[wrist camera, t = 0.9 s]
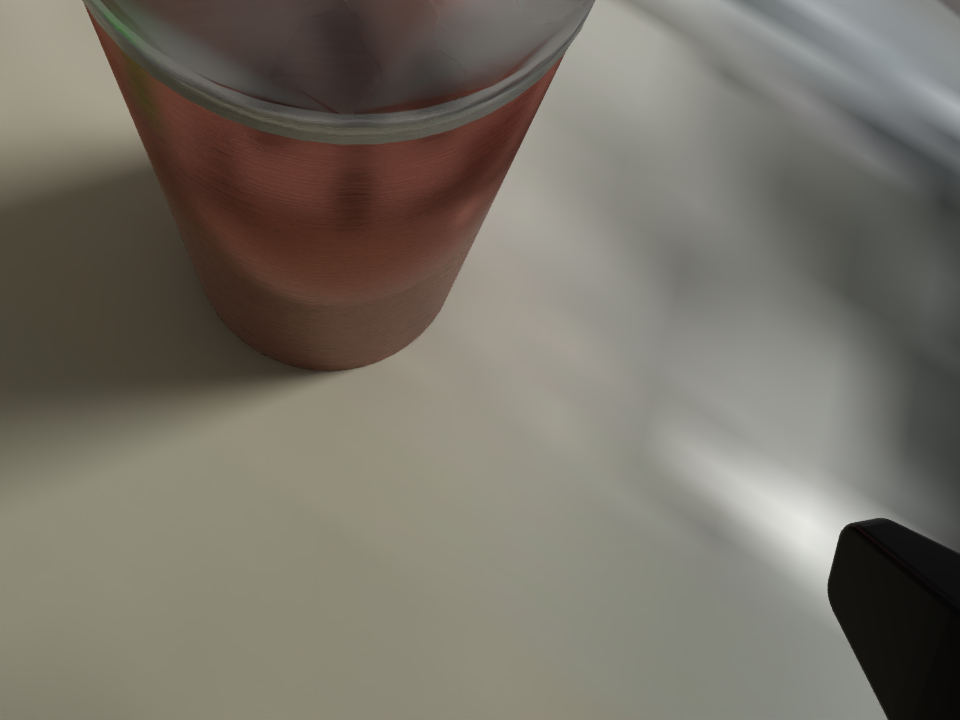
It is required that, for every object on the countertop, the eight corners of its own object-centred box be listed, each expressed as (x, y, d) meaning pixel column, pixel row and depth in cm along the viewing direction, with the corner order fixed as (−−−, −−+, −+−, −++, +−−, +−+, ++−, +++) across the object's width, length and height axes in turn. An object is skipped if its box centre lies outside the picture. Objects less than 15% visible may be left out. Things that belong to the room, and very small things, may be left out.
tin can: (424, 402, 22) (562, 194, 10) (157, 332, 21) (-72, 7, 9) (483, 165, 24) (668, -277, 11) (238, 92, 23) (142, -469, 10)
